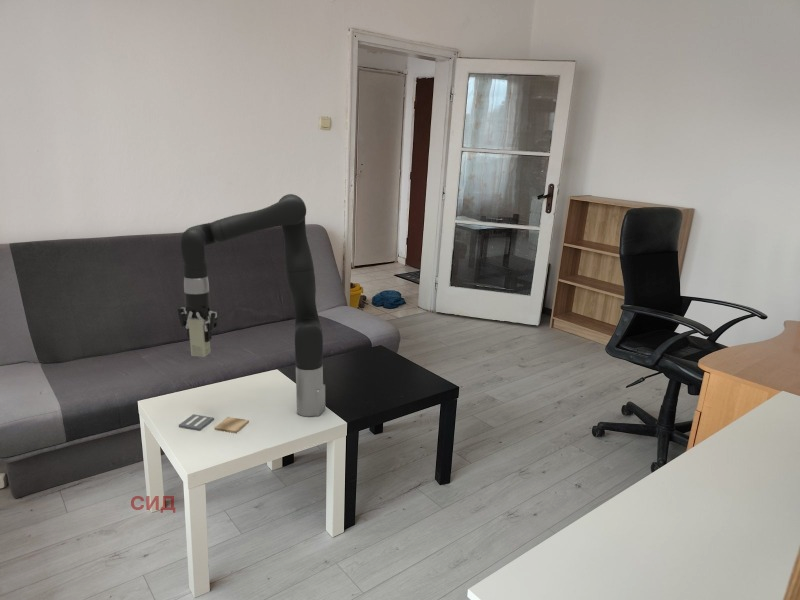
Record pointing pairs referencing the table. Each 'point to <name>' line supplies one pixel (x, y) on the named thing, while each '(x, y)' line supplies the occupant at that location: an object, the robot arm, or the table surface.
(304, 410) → the robot arm
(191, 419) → the pad slate
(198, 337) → the box
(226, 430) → the pad oak
